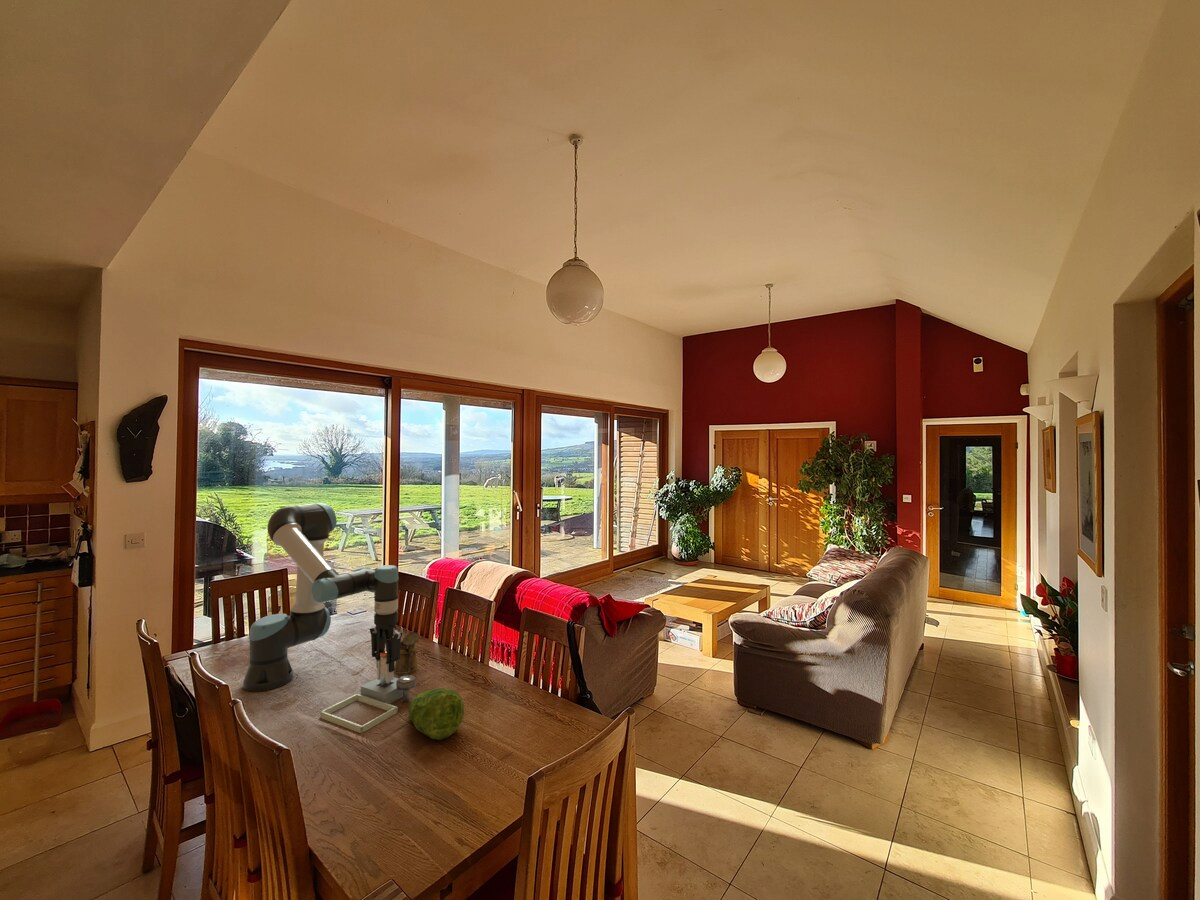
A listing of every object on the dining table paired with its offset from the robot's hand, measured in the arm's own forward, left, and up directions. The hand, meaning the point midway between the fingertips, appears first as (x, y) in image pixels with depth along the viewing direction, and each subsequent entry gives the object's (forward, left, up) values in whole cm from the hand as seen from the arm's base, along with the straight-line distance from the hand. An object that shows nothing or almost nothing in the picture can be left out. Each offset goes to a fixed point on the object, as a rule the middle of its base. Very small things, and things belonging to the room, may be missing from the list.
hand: (385, 679), depth 169 cm
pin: (0, 0, -6) cm, 6 cm away
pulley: (+9, +1, -7) cm, 11 cm away
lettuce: (+27, -6, -7) cm, 29 cm away
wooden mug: (-8, +17, -7) cm, 20 cm away
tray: (+3, -12, -7) cm, 14 cm away
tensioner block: (0, 0, -7) cm, 7 cm away
